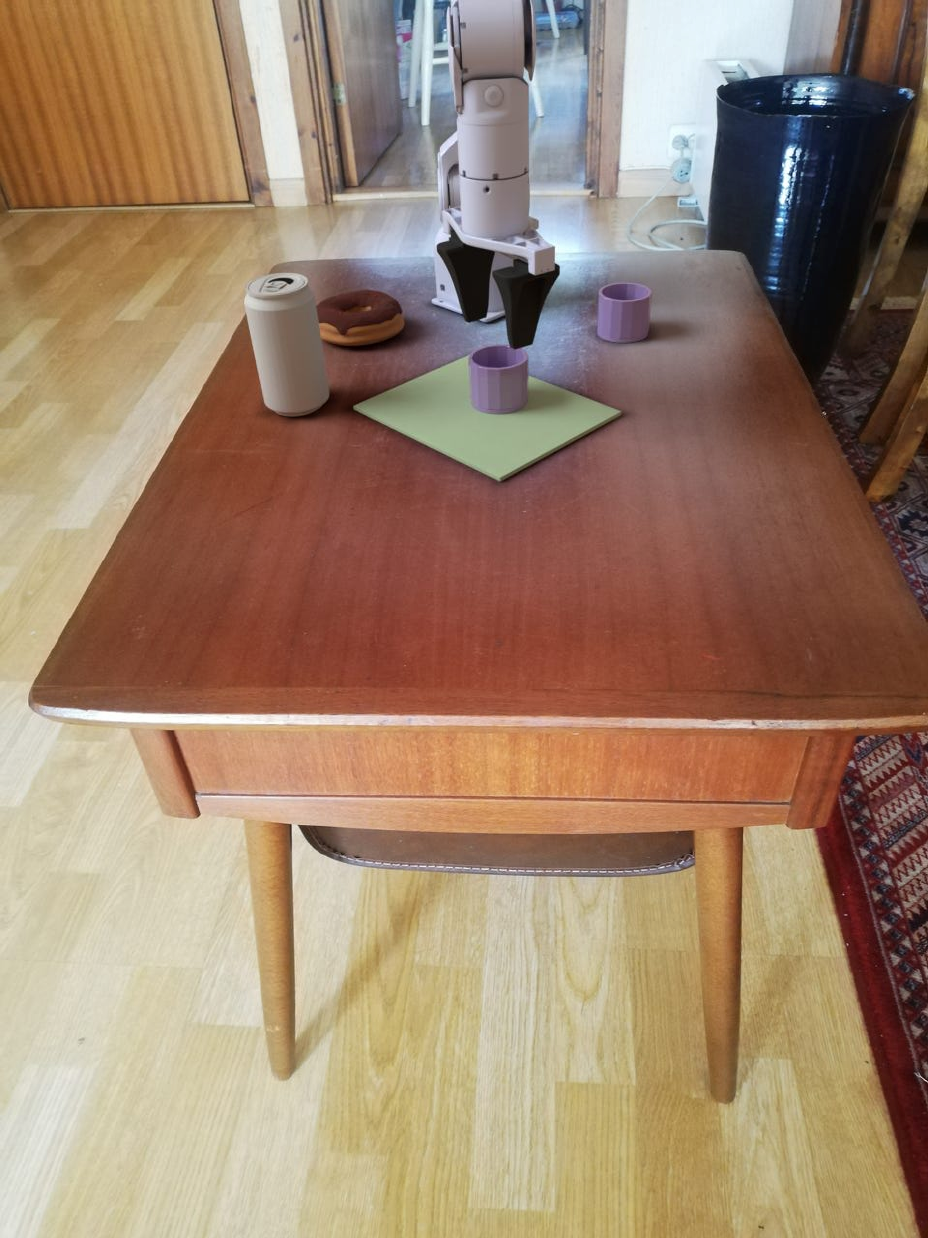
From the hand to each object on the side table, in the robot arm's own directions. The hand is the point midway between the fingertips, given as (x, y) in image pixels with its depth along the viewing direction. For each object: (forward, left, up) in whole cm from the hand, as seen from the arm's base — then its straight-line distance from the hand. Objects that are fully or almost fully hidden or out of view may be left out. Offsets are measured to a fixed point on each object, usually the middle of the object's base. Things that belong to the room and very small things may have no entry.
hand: (497, 332), depth 84 cm
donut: (-24, +2, -7) cm, 25 cm away
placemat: (0, -2, -7) cm, 7 cm away
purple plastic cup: (0, 0, -7) cm, 7 cm away
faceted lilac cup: (-2, +21, -7) cm, 22 cm away
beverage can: (-15, -13, -7) cm, 21 cm away
